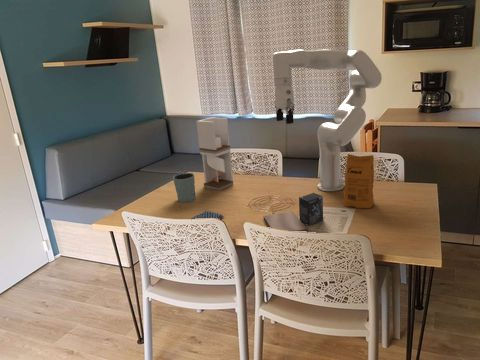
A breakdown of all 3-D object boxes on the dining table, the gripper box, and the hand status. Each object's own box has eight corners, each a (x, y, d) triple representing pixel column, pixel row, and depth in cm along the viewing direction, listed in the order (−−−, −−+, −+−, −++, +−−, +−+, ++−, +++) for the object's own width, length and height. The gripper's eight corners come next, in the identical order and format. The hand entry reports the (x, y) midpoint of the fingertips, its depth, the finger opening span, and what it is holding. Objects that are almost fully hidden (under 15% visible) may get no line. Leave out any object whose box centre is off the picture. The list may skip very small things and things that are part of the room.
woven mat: (208, 227, 163) (207, 223, 163) (190, 222, 170) (189, 217, 170) (225, 218, 171) (225, 214, 170) (207, 214, 178) (207, 209, 177)
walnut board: (292, 214, 167) (292, 211, 167) (308, 232, 151) (307, 228, 150) (263, 219, 165) (263, 216, 165) (275, 237, 149) (275, 233, 148)
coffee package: (347, 198, 179) (347, 150, 173) (376, 202, 173) (377, 152, 166) (340, 206, 171) (340, 156, 165) (370, 210, 165) (371, 158, 158)
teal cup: (201, 198, 196) (198, 174, 193) (185, 204, 190) (181, 180, 186) (187, 194, 203) (184, 171, 200) (171, 200, 196) (168, 177, 193)
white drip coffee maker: (204, 186, 212) (196, 121, 202) (218, 181, 220) (211, 117, 209) (219, 190, 205) (212, 122, 194) (233, 184, 213) (227, 118, 202)
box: (308, 226, 156) (308, 200, 152) (299, 222, 160) (298, 197, 157) (323, 220, 159) (323, 195, 156) (313, 216, 164) (313, 192, 161)
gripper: (300, 82, 165) (301, 123, 170) (282, 80, 180) (284, 118, 186) (283, 83, 163) (285, 125, 168) (266, 82, 178) (269, 120, 183)
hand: (284, 122), depth 177 cm, fingers open, 9 cm apart
